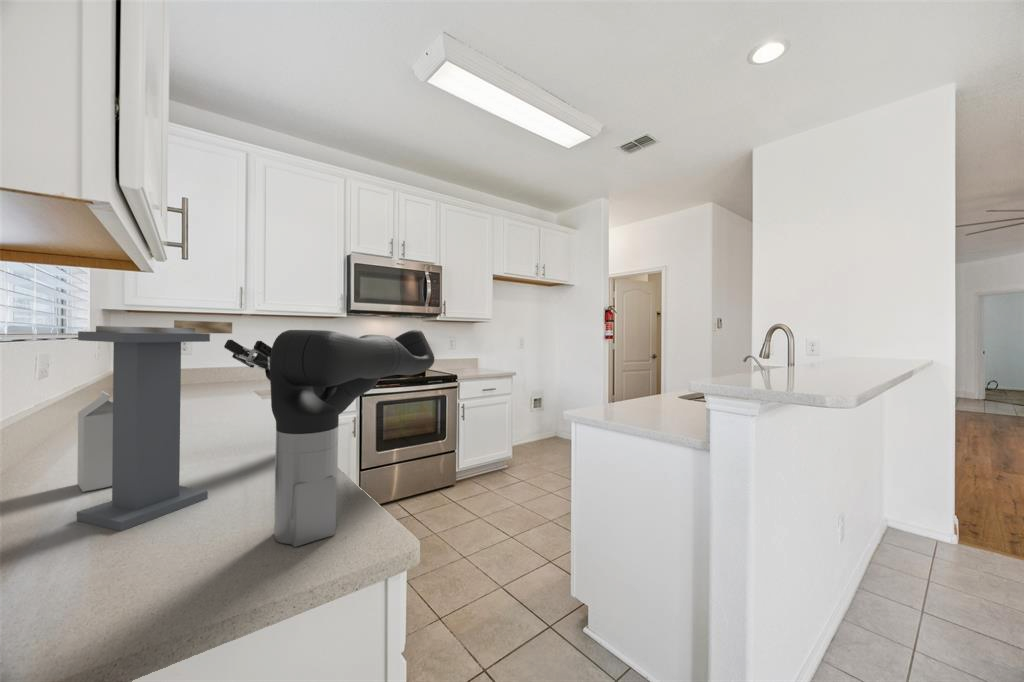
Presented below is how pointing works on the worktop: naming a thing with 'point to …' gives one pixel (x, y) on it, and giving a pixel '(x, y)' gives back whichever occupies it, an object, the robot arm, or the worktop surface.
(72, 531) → the worktop surface
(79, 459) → the milk carton
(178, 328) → the trowel
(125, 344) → the stand
